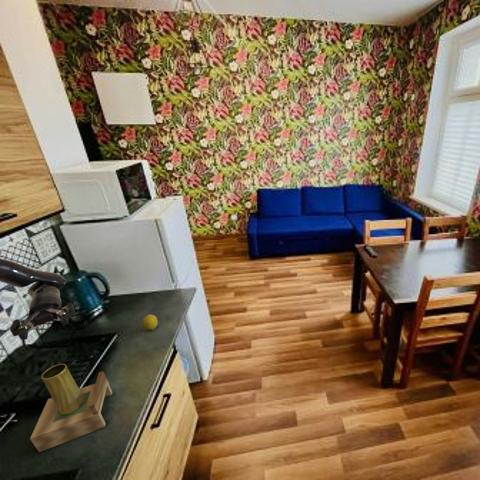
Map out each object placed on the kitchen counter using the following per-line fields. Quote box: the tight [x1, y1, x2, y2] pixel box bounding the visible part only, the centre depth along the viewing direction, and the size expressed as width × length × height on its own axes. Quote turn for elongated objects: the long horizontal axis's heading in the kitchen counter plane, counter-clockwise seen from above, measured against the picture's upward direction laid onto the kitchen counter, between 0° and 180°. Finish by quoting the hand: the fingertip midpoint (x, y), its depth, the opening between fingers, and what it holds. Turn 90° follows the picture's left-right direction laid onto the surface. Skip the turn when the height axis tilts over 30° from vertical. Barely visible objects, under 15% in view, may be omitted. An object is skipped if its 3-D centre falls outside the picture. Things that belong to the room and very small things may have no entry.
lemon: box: [142, 314, 158, 331], centre depth 118 cm, size 6×6×8 cm
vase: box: [40, 363, 85, 415], centre depth 78 cm, size 6×6×14 cm
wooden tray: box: [29, 371, 113, 453], centre depth 81 cm, size 15×13×10 cm
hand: (44, 330), depth 80 cm, fingers open, 8 cm apart
